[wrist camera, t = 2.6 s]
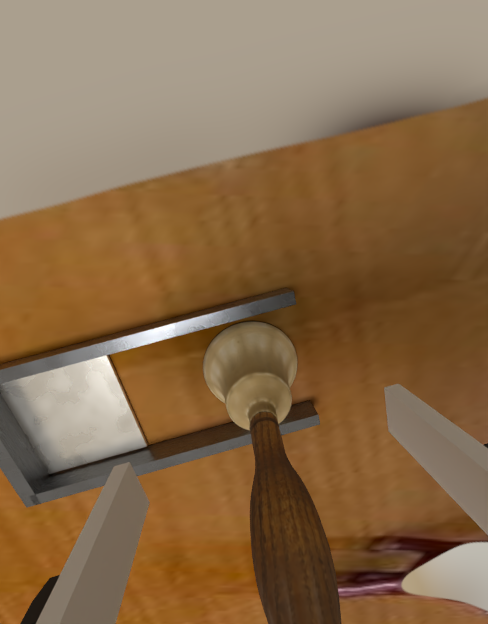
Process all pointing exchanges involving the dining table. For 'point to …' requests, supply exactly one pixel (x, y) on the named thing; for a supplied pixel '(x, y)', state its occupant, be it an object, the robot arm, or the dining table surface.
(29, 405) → the guide channel
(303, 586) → the hand bell
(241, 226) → the dining table surface
